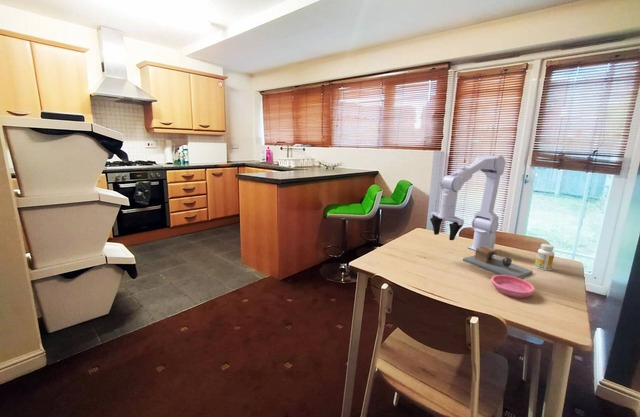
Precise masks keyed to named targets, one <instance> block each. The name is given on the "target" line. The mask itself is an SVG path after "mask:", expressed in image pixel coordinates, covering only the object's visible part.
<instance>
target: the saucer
mask: <svg viewBox="0 0 640 417" xmlns="http://www.w3.org/2000/svg"><path fill="white" fill-rule="evenodd" d="M490 281H491V284H492V286H493V287H494V288H495V290H497V291H498V292H500V293H501V294H503V295H504V296H509V297H511V298H515V299H516V298H517V299H525V298H528V297H530V296H532V295H533V294H534V293H535V291H536V287H535V286H534V285H533V284H532V283H531V282H529V281H527V280H525V279H522V278H517V277H513V276H509V275H497V274H494V275H493V276H491V279H490Z"/></svg>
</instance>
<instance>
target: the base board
mask: <svg viewBox="0 0 640 417" xmlns="http://www.w3.org/2000/svg"><path fill="white" fill-rule="evenodd" d="M462 261H463V262H465V263H468V264H470V265H472V266H474V267H475V266H476V267H478V268H479V269H483V270H485V271H488V272H490V273H492V274H494V275H509V276H513V277H517V278H520V279H522V278H523V277H526V276H529V275H532V274H533V273H534V271H533V270H532V269H528V268H526V267H523V266H519V265H517V264H514V263H511V265H510V266H509V267H506V266H504V265H503V263H501V262H498V261H493V262H489V263H484V262H481V261H479V260H476V259H475V254H474V255H470V256H467V257H464V258H463V259H462Z"/></svg>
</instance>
